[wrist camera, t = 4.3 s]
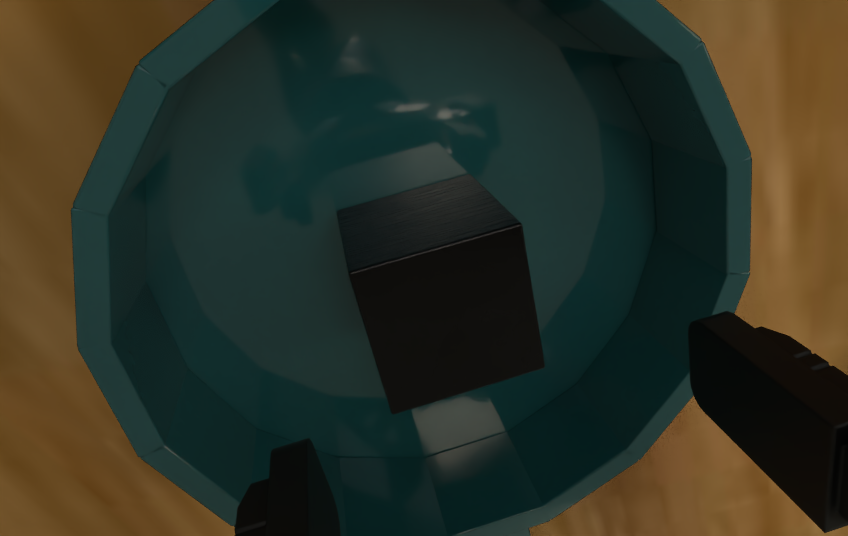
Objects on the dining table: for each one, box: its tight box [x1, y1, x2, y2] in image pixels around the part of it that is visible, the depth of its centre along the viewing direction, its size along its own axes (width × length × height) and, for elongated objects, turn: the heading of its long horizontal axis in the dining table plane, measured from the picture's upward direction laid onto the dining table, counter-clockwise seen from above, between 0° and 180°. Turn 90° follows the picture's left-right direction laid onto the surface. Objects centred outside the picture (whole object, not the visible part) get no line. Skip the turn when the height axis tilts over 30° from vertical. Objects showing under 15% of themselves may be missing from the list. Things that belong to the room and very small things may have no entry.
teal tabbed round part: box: [71, 0, 752, 536], centre depth 19 cm, size 19×24×4 cm
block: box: [336, 174, 545, 414], centre depth 18 cm, size 4×4×5 cm
